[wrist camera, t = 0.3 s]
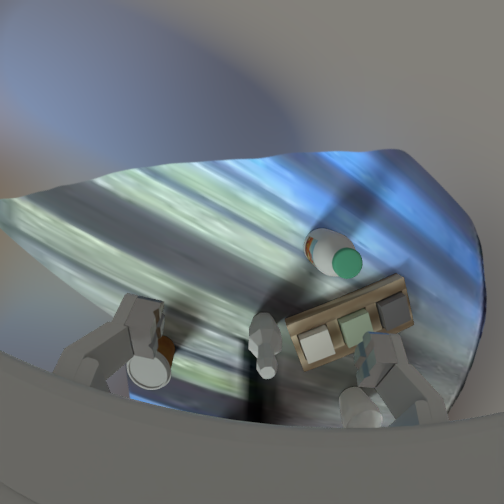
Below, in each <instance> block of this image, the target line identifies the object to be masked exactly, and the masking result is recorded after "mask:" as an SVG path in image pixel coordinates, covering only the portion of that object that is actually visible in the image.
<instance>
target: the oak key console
mask: <svg viewBox="0 0 504 504" xmlns="http://www.w3.org/2000/svg"><path fill="white" fill-rule="evenodd" d="M397 292H401V293H403V294H404V295H406V298H407V303H408V307H409V312H410V317H411V320H410V321H408V322H406V323H404V324H402V325H400V326H398V327H395V328H393V329H391V330H389V331H386V330H385V329H384V328H383V327H382V326H381V322H380V318H379V314H378V310H377V307H376V303H375V302H378V301H380V300H382V299H384V298H387V297H389V296H391V295H393V294H395V293H397ZM362 308H364V309H365V310H366V311H367V312H368V313H369V317H370V321H371V324H372V328H373V332H381V333H392V334H396V333H398V332H400V331H402V330H404V329H407V328H409V327H411V326H413V325H414V321H413V316H412V312H411V307H410V302H409V298H408V293H407V289H406V285H405V280H404V277H403V276H401V275H399V274H397V273H395V274H393V275H391V276H389V277H386V278H384V279H382V280H380V281H377V282H375V283H373V284H370V285H368V286H366V287H363V288H361V289H359V290H356V291H354V292H352V293H349V294H347V295H344V296H342V297H340V298H337V299H335V300H332V301H330V302H327V303H325V304H322V305H320V306H317V307H315V308H312V309H309V310H307V311H304V312H302V313H299V314H297V315H294V316H291V317H289V318H286V319H285V322H286V326H287V328H288V331H289V334H290V336H291V339H292V341H293V344H294V346H295V349H296V352H297V354H298V357H299V359H300V362H301V365H302V367H303V370H304V372H306V371H308V370H311V369H314V368H316V367H319V366H322V365H324V364H327V363H329V362H332V361H334V360H337V359H339V358H342V357H344V356H347V355H349V354H351V353H354V352H355V348H356V347H357V345H355V346H353V347H351V348H349V347H348V346H347V344H346V343H345V341H344V339H343V336H342V332H341V329H340V326H339V323H338V320H337V319H338V318H340V317H343V316H345V315H347V314H350V313H352V312H355V311H357V310H359V309H362ZM323 324H325V326H326V327H327V329H328V332H329V335H330V338H331V341H332V344H333V347H334V350H335V353H336V354H334V355H331V356H328V357H326V358H323V359H321V360H318V361H316V362H313V363H310V364H308V361H307V359H306V356H305V353H304V351H303V348H302V345H301V343H300V340H299V337H298V334H300V333H302V332H305V331H308V330H310V329H313V328H315V327H318V326H320V325H323Z"/></svg>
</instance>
